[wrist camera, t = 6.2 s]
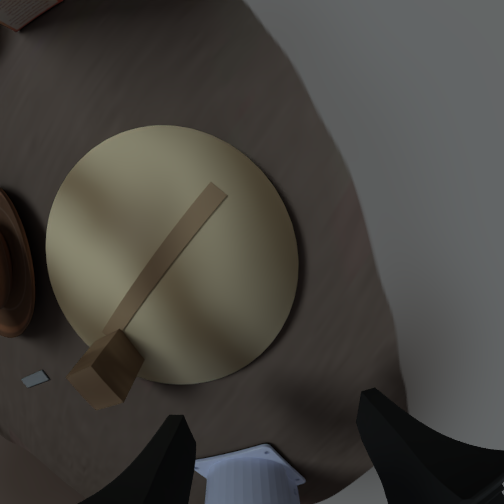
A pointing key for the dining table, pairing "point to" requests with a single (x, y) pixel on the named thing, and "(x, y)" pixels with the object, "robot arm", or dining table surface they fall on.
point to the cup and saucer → (14, 272)
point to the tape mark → (35, 378)
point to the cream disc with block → (168, 260)
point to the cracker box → (23, 11)
